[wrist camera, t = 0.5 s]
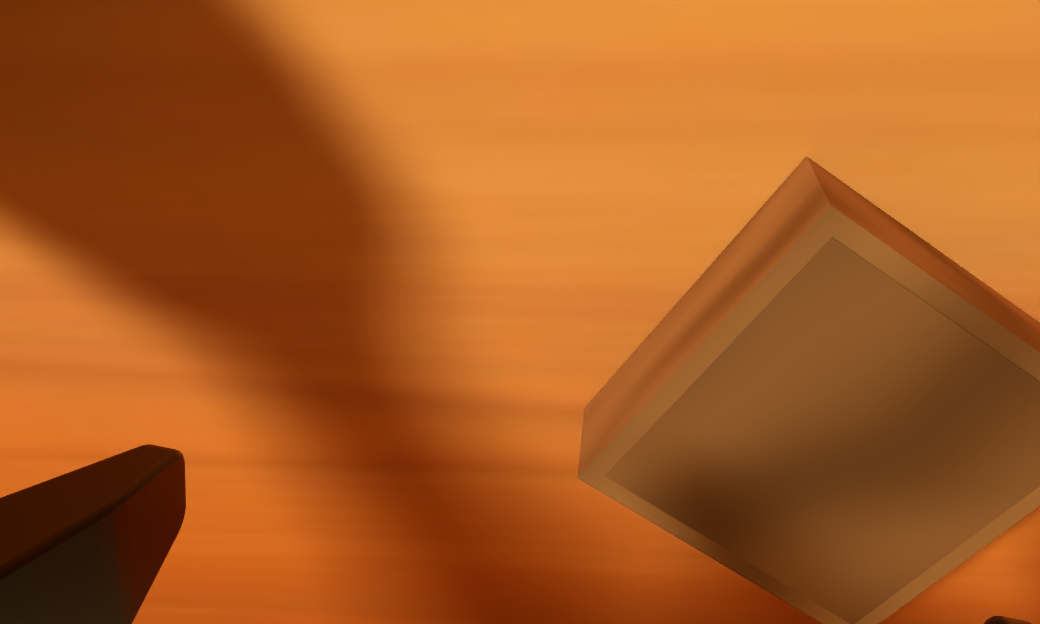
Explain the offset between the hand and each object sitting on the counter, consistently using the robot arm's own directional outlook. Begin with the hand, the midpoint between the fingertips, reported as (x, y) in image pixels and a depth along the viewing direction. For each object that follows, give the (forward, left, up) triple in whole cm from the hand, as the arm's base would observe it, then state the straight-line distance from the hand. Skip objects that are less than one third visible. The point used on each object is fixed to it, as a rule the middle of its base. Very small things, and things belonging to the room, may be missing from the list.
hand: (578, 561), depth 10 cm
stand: (+8, -2, -13) cm, 15 cm away
